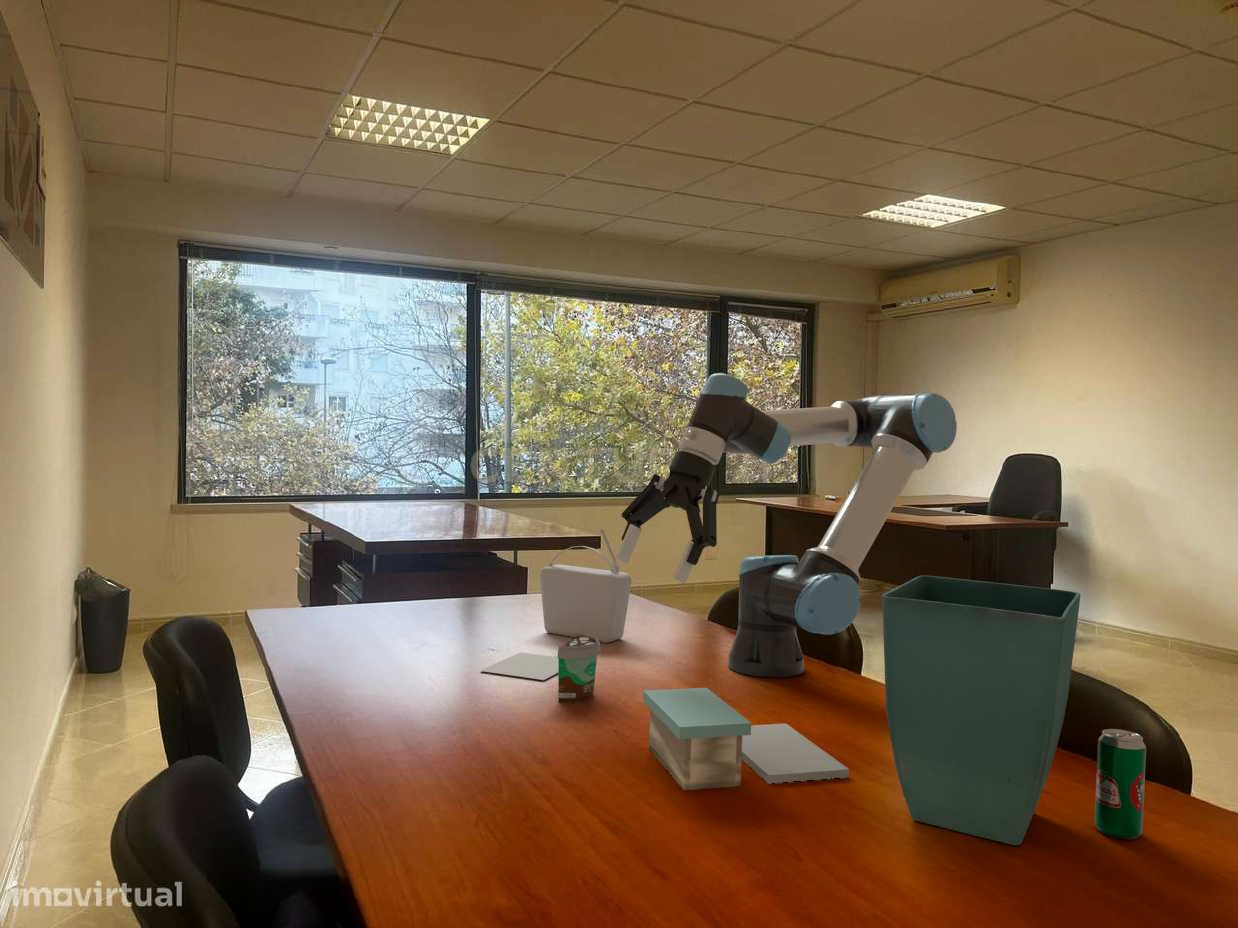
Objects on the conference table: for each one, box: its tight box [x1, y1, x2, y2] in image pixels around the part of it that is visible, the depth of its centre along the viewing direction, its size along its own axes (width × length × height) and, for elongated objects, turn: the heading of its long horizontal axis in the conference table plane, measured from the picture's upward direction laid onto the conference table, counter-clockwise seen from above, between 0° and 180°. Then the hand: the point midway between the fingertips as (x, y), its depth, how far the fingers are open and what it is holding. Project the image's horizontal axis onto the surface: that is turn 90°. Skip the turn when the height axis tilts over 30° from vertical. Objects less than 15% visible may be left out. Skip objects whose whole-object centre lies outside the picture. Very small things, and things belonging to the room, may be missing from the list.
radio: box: [539, 528, 632, 644], centre depth 207 cm, size 22×8×25 cm, turn 58°
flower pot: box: [881, 575, 1081, 846], centre depth 111 cm, size 20×20×28 cm
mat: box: [742, 723, 850, 785], centre depth 132 cm, size 12×20×1 cm, turn 15°
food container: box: [557, 632, 602, 703], centre depth 159 cm, size 12×6×10 cm, turn 168°
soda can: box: [1094, 728, 1147, 841], centre depth 109 cm, size 5×5×12 cm
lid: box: [642, 687, 752, 739], centre depth 127 cm, size 10×17×2 cm, turn 15°
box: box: [648, 708, 743, 791], centre depth 127 cm, size 8×16×7 cm, turn 15°
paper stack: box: [479, 651, 558, 681], centre depth 184 cm, size 23×25×1 cm
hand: (649, 570), depth 153 cm, fingers open, 13 cm apart
